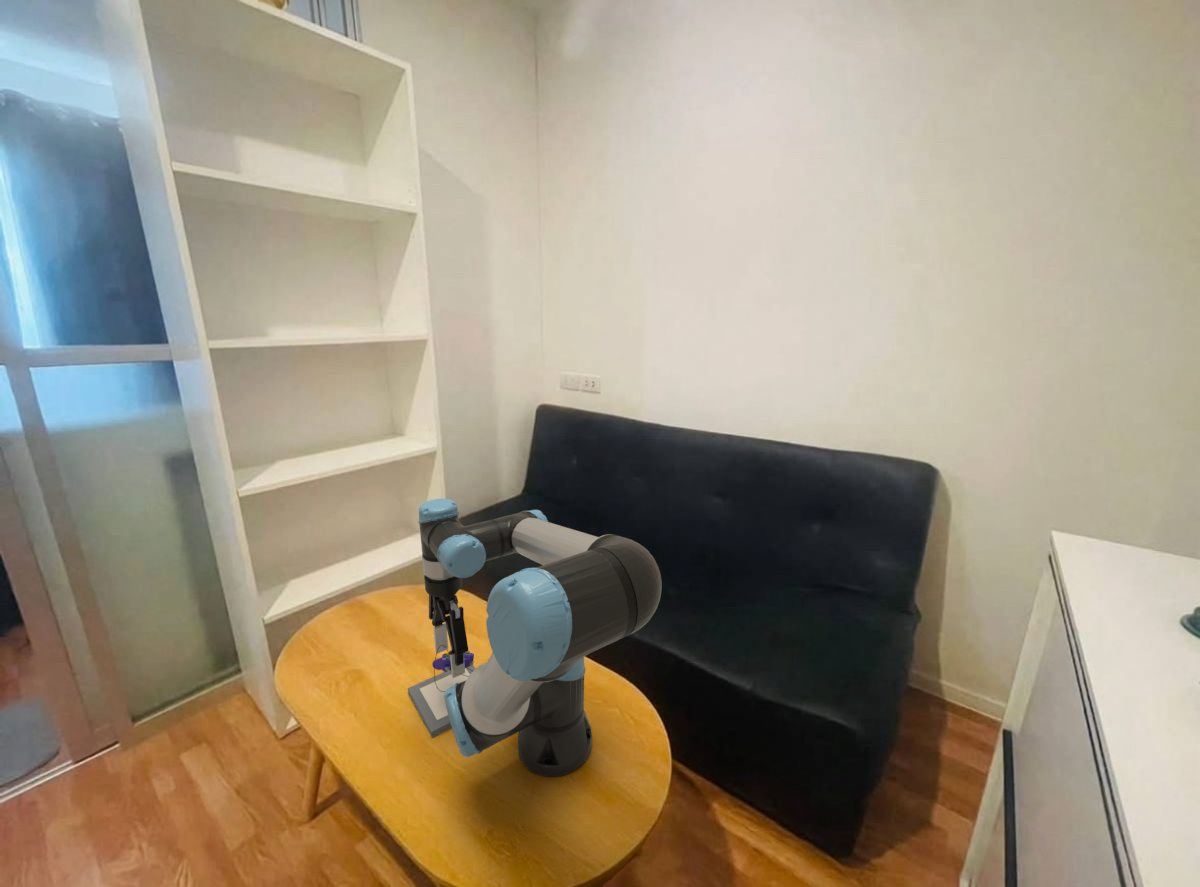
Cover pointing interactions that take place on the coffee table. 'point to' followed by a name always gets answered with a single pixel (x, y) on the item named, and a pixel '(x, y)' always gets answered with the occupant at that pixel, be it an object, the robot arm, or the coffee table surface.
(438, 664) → the game controller
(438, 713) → the grey picture frame
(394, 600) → the coffee table surface
